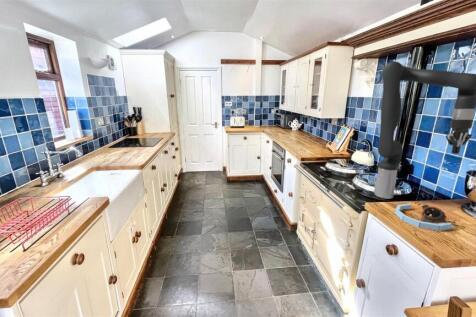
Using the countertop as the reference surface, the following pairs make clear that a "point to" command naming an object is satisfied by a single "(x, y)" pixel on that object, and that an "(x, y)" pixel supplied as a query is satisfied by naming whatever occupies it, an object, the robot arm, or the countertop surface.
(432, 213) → the pottery mug
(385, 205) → the countertop surface
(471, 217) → the countertop surface
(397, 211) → the collar
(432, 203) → the countertop surface
